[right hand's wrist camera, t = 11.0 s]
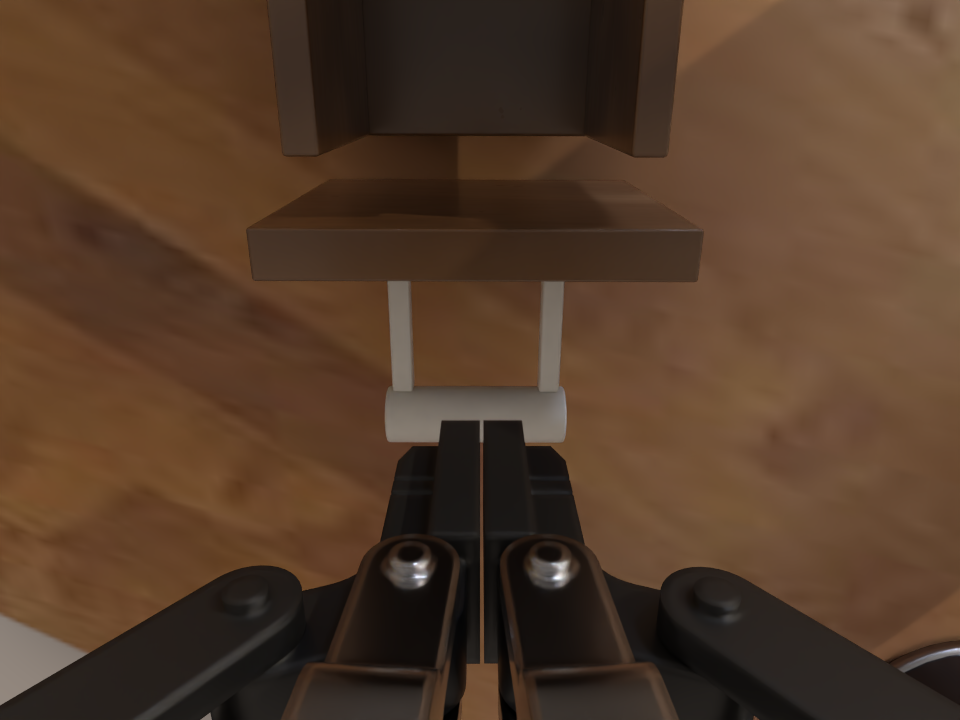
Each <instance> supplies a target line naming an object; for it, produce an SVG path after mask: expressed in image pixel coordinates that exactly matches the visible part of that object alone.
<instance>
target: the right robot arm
mask: <svg viewBox="0 0 960 720" xmlns="http://www.w3.org/2000/svg"><path fill="white" fill-rule="evenodd" d="M483 557H484V663H498V715H499V720H753V717H754V716H756V717H757V718H758V719H760V720H960V641H951V642H944V643H939V644H935V645H931V646H927V647H924V648H921V649H918V650H915V651H913V652H910V653H908V654H906V655H904V656H902V657H900V658H898V659H896V660H894V661H893V662H891V663H889V664H888V663H887V662H885V661H883V660H882V659H880V658H878V657H876V656H875V655H873V654H871V653H870V652H868V651H866V650H864V649H863V648H861V647H859V646H858V645H856V644H854V643H853V642H851V641H849V640H847V639H846V638H844V637H842V636H841V635H839V634H837V633H836V632H834V631H832V630H830V629H829V628H827V627H825V626H824V625H822V624H820V623H818V622H817V621H815V620H813V619H812V618H810V617H808V616H807V615H805V614H803V613H801V612H800V611H798V610H796V609H795V608H793V607H791V606H790V605H788V604H786V603H784V602H783V601H781V600H779V599H778V598H776V597H774V596H772V595H771V594H769V593H767V592H766V591H764V590H762V589H761V588H759V587H757V586H755V585H754V584H752V583H750V582H749V581H747V580H745V579H743V578H741V577H739V576H737V575H735V574H732V573H730V572H727V571H723V570H720V569H715V568H708V567H691V568H685V569H682V570H679V571H676V572H674V573H672V574H671V575H670V576H668V577H667V578H666V579H665V581H664V582H663V584H662V587H661V590H657V589H653V588H648V587H644V586H640V585H635V584H632V583H628V582H625V581H622V580H620V579H617V578H615V577H613V576H611V575H609V574H608V573H606V572H605V571H603V570H602V569H601V566H600V564H599V561H598V559H597V557H596V556H595V554H594V553H593V552H592V551H591V550H590V549H589V548H588V547H587V546H585V544H584V539H583V535H582V531H581V526H580V522H579V518H578V513H577V509H576V505H575V500H574V496H573V495H572V487H571V483H570V481H569V474H568V470H567V466H566V461H565V460H564V459H563V458H562V457H561V456H560V455H559V454H558V453H557V452H556V451H555V450H554V449H553V448H552V447H551V446H525V440H524V432H523V424H522V420H483ZM467 664H480V420H442V421H441V428H440V436H439V445H438V446H413V447H412V448H411V449H410V450H409V451H408V452H407V453H406V454H405V455H404V456H403V457H402V458H401V459H400V460H399V461H398V464H397V468H396V473H395V477H394V482H393V486H392V491H391V496H390V500H389V505H388V509H387V514H386V518H385V523H384V527H383V532H382V536H381V541H380V542H379V543H378V544H376V545H375V546H373V547H372V548H371V549H370V550H369V551H368V552H367V553H366V554H365V556H364V557H363V559H362V561H361V564H360V566H359V569H358V572H357V574H356V575H354V576H352V577H350V578H348V579H345V580H343V581H340V582H337V583H334V584H330V585H326V586H322V587H318V588H313V589H309V590H305V591H302V587H301V584H300V582H299V580H298V579H297V578H296V576H294V575H293V574H292V573H291V572H289V571H287V570H285V569H282V568H279V567H274V566H251V567H245V568H241V569H237V570H234V571H231V572H229V573H226V574H224V575H222V576H220V577H218V578H216V579H215V580H213V581H211V582H210V583H208V584H206V585H205V586H203V587H201V588H199V589H198V590H196V591H194V592H193V593H191V594H189V595H188V596H186V597H184V598H182V599H181V600H179V601H177V602H176V603H174V604H172V605H170V606H169V607H167V608H165V609H164V610H162V611H160V612H159V613H157V614H155V615H153V616H152V617H150V618H148V619H147V620H145V621H143V622H142V623H140V624H138V625H136V626H135V627H133V628H131V629H130V630H128V631H126V632H125V633H123V634H121V635H119V636H118V637H116V638H114V639H113V640H111V641H109V642H107V643H106V644H104V645H102V646H101V647H99V648H97V649H96V650H94V651H92V652H90V653H89V654H87V655H85V656H84V657H82V658H80V659H79V660H77V661H75V662H73V663H72V664H70V665H68V666H67V667H65V668H63V669H61V670H60V671H58V672H56V673H55V674H53V675H51V676H50V677H48V678H46V679H44V680H43V681H41V682H39V683H38V684H36V685H34V686H33V687H31V688H29V689H27V690H26V691H24V692H22V693H21V694H19V695H17V696H16V697H14V698H12V699H10V700H9V701H7V702H5V703H4V704H2V705H0V720H200V719H202V718H203V717H205V716H206V715H207V714H209V713H210V712H211V717H212V720H461V715H462V697H463V694H464V691H465V687H466V667H467Z"/></svg>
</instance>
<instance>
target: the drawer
mask: <svg viewBox="0 0 960 720" xmlns="http://www.w3.org/2000/svg"><path fill="white" fill-rule="evenodd" d="M683 3H684V0H267V7H268V17H269V27H270V37H271V46H272V56H273V66H274V76H275V86H276V96H277V105H278V115H279V125H280V135H281V145H282V153H283V155H284V156H318V155H321V154H323V153H326V152H328V151H331V150H333V149H336V148H338V147H341V146H343V145H346V144H348V143H350V142H353V141H355V140H358V139H360V138H363V137H365V136H368V135H396V136H587V137H589V138H591V139H594V140H596V141H598V142H601V143H603V144H605V145H607V146H610V147H612V148H614V149H617V150H619V151H621V152H623V153H626V154H628V155H630V156H633V157H666V156H667V154H668V149H669V139H670V130H671V120H672V110H673V100H674V91H675V81H676V71H677V62H678V52H679V42H680V32H681V23H682V13H683ZM246 232H247V239H248V247H249V255H250V263H251V271H252V278H253V280H255V281H387V283H388V304H389V324H390V344H391V364H392V384H393V386H389V387H388V390H387V393H386V401H385V431H386V437H387V440H388V441H389V442H439V436H440V428H441V421H442V420H480V442H483V420H522V424H523V432H524V440H525V442H533V443H561V442H563V441H564V439H565V434H566V421H567V411H566V396H565V391H564V388H563V387H561V386H559V378H560V358H561V339H562V319H563V300H564V282H696V281H697V280H698V273H699V266H700V258H701V250H702V242H703V234H704V231H703V229H701V228H699V227H698V226H696V225H695V224H693V223H691V222H690V221H688V220H687V219H685V218H683V217H682V216H680V215H679V214H677V213H675V212H674V211H672V210H671V209H669V208H667V207H666V206H664V205H663V204H661V203H659V202H658V201H656V200H655V199H653V198H651V197H650V196H648V195H647V194H645V193H644V192H642V191H640V190H639V189H637V188H636V187H634V186H632V185H631V184H629V183H628V182H626V181H624V180H335V179H330V180H328V181H326V182H324V183H323V184H321V185H319V186H318V187H316V188H314V189H313V190H311V191H309V192H307V193H306V194H304V195H302V196H301V197H299V198H297V199H296V200H294V201H292V202H291V203H289V204H287V205H286V206H284V207H282V208H281V209H279V210H277V211H276V212H274V213H272V214H270V215H269V216H267V217H265V218H264V219H262V220H260V221H259V222H257V223H255V224H254V225H252V226H250V227H249V228H247V230H246ZM411 281H503V282H541V300H540V327H539V353H538V379H537V384H538V386H414V356H413V329H412V301H411Z"/></svg>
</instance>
